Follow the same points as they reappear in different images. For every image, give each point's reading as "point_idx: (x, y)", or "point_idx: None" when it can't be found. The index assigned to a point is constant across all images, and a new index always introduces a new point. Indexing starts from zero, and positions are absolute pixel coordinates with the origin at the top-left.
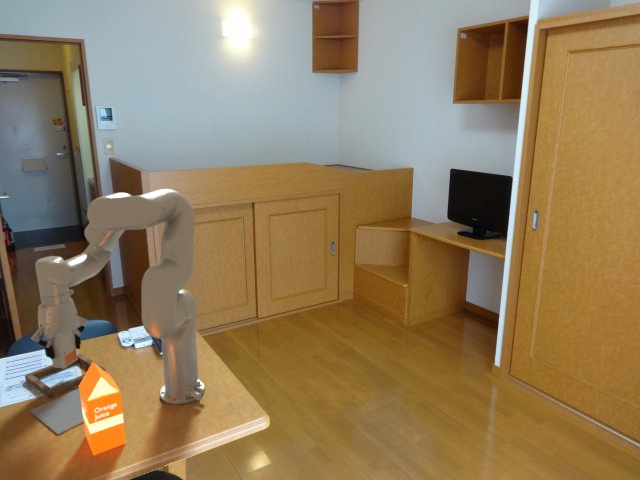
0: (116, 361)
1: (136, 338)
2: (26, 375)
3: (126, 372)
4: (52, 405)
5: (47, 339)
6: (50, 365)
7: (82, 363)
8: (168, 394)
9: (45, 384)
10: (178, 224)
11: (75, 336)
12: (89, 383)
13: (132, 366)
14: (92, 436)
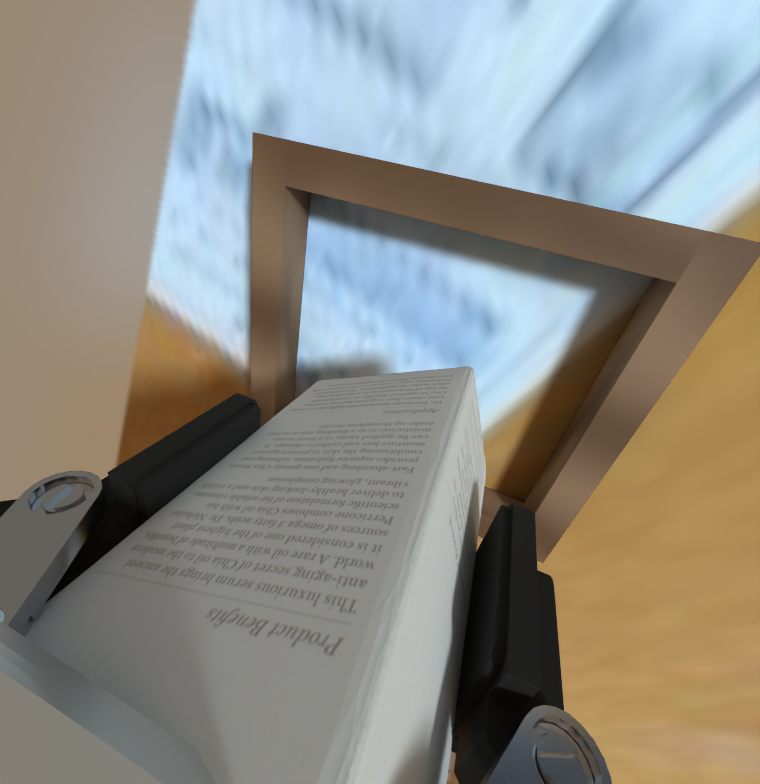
0: (733, 524)
1: None
2: (256, 151)
3: (591, 612)
4: None
5: (41, 575)
6: (441, 175)
7: (624, 338)
8: (453, 768)
9: (275, 378)
10: None
11: (458, 739)
12: None
13: (672, 621)
14: None
